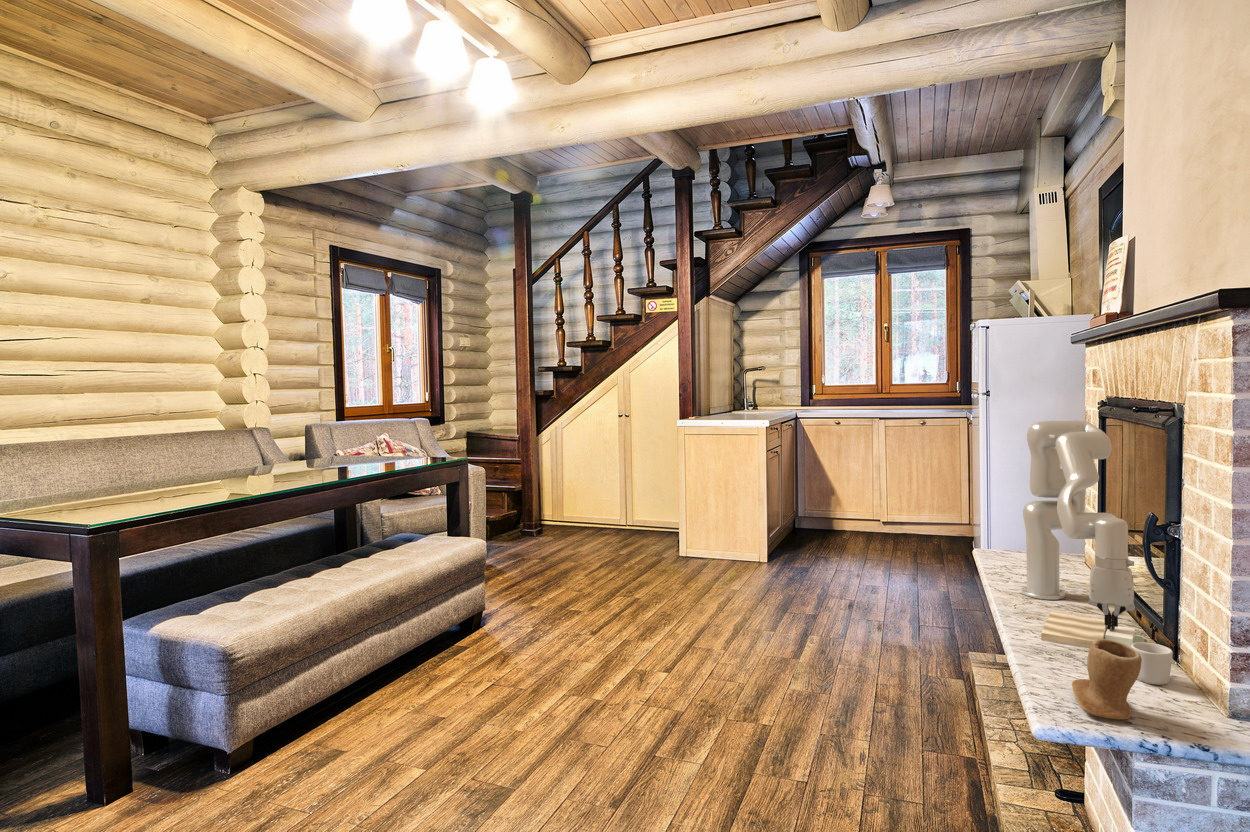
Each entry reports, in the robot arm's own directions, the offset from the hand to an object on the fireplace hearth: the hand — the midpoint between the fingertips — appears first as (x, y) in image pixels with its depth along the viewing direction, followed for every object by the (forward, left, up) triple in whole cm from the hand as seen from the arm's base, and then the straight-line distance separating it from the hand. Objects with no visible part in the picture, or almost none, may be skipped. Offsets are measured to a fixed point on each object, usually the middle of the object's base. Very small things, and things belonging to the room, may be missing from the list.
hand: (1111, 628), depth 197 cm
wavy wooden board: (0, -9, -3) cm, 9 cm away
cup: (+26, +9, -3) cm, 28 cm away
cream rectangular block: (0, +2, -3) cm, 3 cm away
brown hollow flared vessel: (+50, +1, -3) cm, 50 cm away
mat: (+4, +3, -3) cm, 6 cm away
